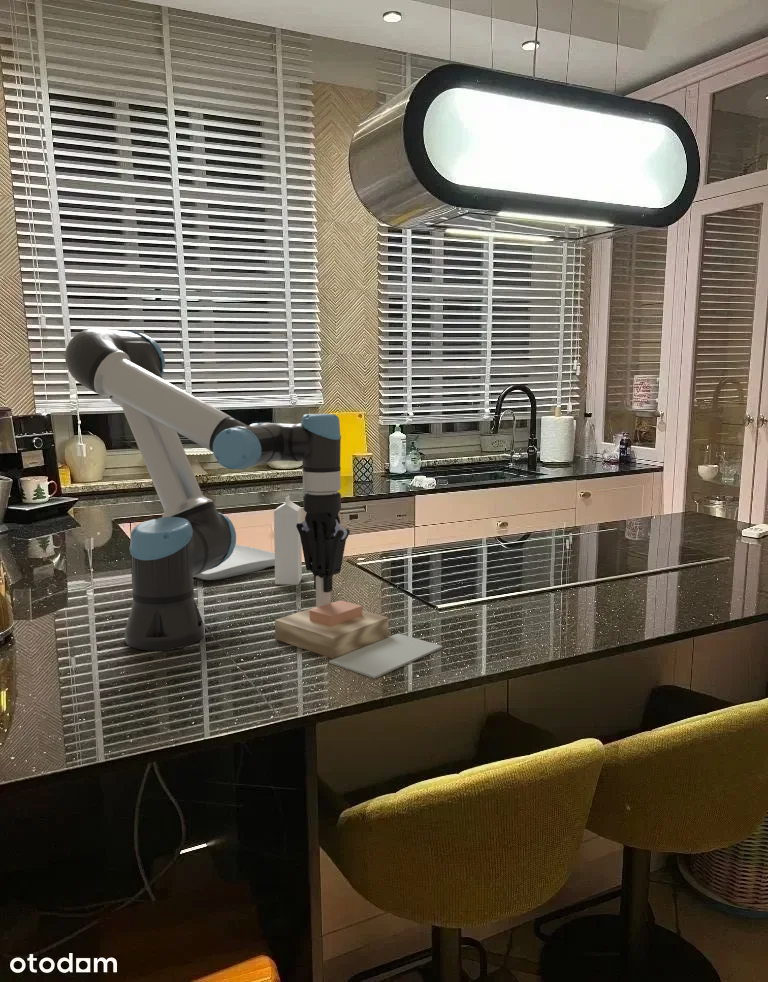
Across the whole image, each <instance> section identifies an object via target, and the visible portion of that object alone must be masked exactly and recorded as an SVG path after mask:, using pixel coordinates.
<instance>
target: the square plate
mask: <svg viewBox="0 0 768 982" xmlns="http://www.w3.org/2000/svg"><path fill="white" fill-rule="evenodd" d="M273 566H274V567H275V552H273V551H269V550H265V549H260V548H256V547H251V546H247V545H243V544H237V543H236V544H235V548H234V550H233V553H232V554H231V556H230V557H229V558H228V559H227V560H226V561H224V562H223V563H221V564H220V565H219V566H217V567H215V568H213V569H209V570H207V571H204V572H202V573H200V574H197V575H195V576H193V578H196V579H199V580H204V581H205V580H206V581H217V580H223V579H228V578H231V577H236V576H240V575H245V574H248V573H253V572H257V571H262V570H265V569H267V568H271V567H273Z"/></svg>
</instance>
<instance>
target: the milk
mask: <svg viewBox="0 0 768 982" xmlns="http://www.w3.org/2000/svg"><path fill="white" fill-rule="evenodd" d="M284 501H285V503H284V502H283V504H281V505H279V506H277V507H276V508H275V509H274V510H273V531H274V533H273V535H274V536H273V537H274V546H273V547H274V553H275V566H274V585H295V586H297V585H299V584H300V583H301V581H302V578H303V573H302V571H303V570H302V569H303V567H302V565H303V564H302V563H303V559H302V555H303V551H302V543H301V538H300V534H299V532H298V529H297V527H296V525H297V524H298V523H302V507H301V506H299V505H298V504H296V503H294V502H293V501H291V498H290V494H288V495H287V496H286V497H285V500H284Z"/></svg>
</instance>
